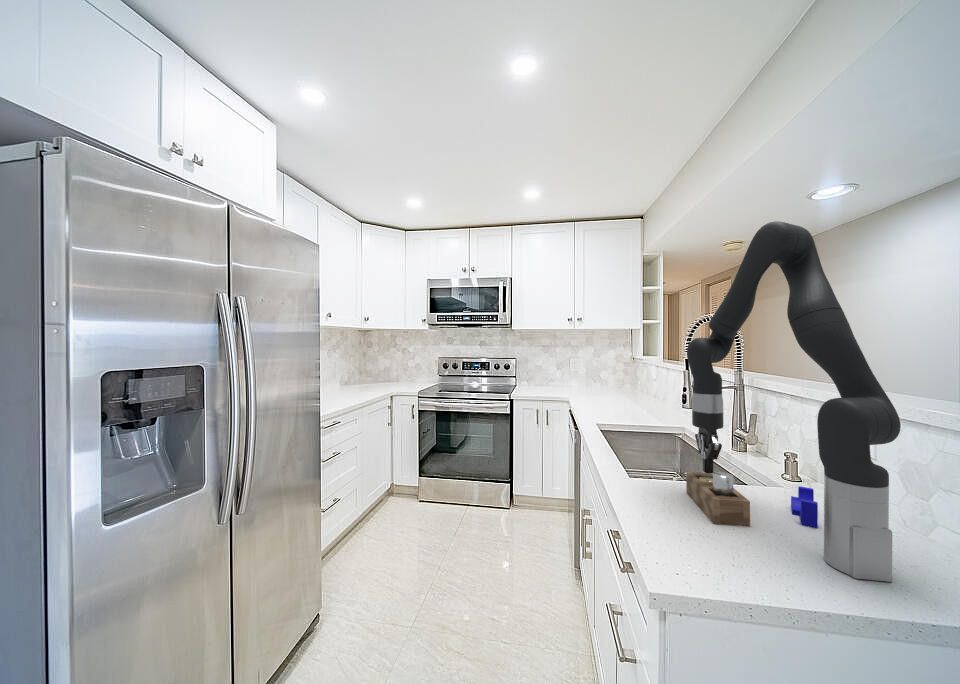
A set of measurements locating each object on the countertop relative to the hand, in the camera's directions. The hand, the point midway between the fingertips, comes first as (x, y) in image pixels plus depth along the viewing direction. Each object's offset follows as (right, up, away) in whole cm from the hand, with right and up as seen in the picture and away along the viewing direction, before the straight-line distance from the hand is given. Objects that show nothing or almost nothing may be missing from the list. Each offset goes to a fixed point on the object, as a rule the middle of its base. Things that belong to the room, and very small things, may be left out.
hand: (707, 472), depth 110 cm
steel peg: (-2, -4, -10) cm, 10 cm away
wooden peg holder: (-1, -8, -5) cm, 9 cm away
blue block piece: (+18, -8, -10) cm, 23 cm away
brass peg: (0, -8, 0) cm, 8 cm away
